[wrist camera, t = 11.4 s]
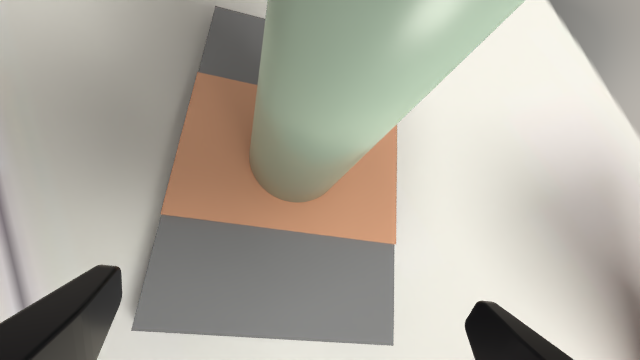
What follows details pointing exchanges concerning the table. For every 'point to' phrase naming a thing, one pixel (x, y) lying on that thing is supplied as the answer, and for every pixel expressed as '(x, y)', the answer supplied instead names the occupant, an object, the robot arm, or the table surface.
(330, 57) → the green cylinder
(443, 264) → the table surface
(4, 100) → the table surface
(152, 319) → the grey orange flat block
